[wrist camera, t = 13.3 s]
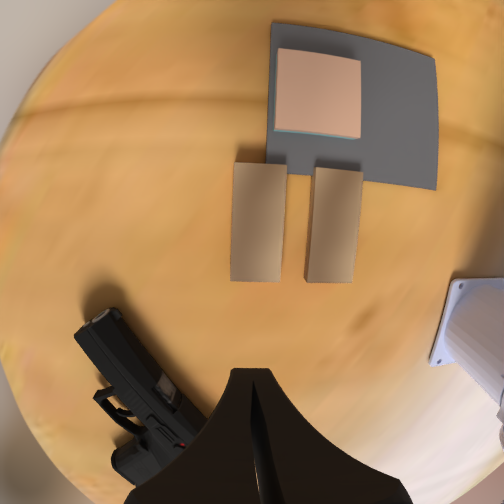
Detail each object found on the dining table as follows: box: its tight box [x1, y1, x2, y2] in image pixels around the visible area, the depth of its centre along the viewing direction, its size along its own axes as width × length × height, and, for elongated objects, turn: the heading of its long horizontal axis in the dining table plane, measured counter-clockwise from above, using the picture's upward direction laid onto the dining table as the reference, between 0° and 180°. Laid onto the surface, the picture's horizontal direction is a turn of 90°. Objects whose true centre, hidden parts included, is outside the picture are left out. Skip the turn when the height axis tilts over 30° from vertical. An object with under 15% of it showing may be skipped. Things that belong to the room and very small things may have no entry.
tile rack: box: [230, 162, 363, 283], centre depth 19 cm, size 8×7×1 cm
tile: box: [273, 48, 361, 140], centre depth 16 cm, size 1×5×5 cm
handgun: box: [74, 307, 208, 487], centre depth 21 cm, size 3×17×12 cm
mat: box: [266, 23, 439, 190], centre depth 17 cm, size 12×10×1 cm
